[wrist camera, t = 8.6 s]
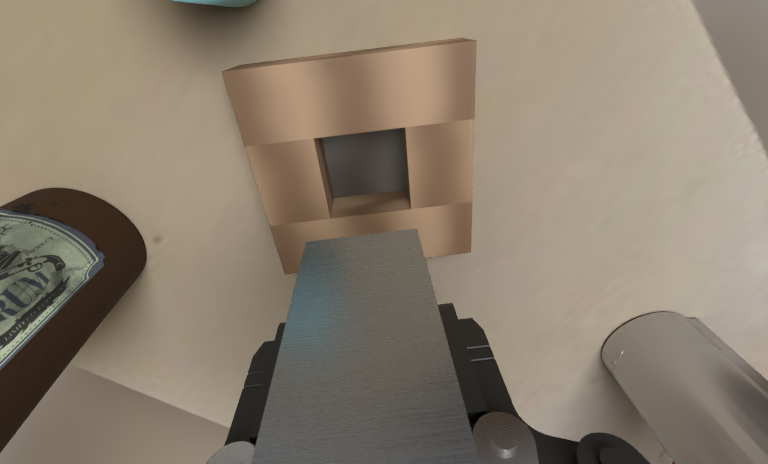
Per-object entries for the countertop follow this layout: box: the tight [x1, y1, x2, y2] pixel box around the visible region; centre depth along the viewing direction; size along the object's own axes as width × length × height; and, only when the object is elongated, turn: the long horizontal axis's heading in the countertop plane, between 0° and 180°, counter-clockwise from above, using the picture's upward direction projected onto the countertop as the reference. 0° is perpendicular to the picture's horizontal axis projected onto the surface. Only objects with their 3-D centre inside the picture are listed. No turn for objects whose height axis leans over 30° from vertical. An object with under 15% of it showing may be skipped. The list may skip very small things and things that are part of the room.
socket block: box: [222, 38, 476, 274], centre depth 24 cm, size 14×14×4 cm
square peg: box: [251, 229, 480, 464], centre depth 9 cm, size 4×4×10 cm
